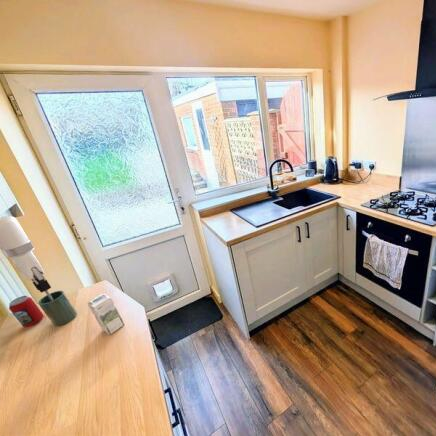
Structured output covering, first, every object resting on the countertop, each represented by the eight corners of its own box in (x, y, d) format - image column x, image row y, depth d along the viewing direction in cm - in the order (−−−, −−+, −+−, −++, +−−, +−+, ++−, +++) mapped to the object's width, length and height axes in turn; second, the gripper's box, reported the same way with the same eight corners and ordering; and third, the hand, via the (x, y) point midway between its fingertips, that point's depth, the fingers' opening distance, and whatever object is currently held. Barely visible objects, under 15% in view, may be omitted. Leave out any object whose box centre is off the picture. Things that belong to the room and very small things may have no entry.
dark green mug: (58, 329, 99) (42, 307, 94) (50, 322, 103) (35, 301, 98) (80, 315, 105) (66, 293, 100) (72, 309, 109) (59, 288, 104)
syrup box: (118, 319, 100) (102, 292, 94) (125, 324, 97) (110, 296, 91) (102, 330, 96) (86, 302, 90) (110, 336, 93) (93, 307, 87)
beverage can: (19, 327, 102) (2, 305, 97) (37, 314, 108) (22, 293, 103) (30, 329, 101) (13, 307, 96) (48, 316, 107) (33, 295, 101)
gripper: (-3, 250, 90) (25, 289, 98) (11, 259, 82) (39, 301, 90) (24, 240, 96) (48, 278, 104) (39, 248, 88) (64, 288, 96)
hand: (44, 288), depth 97 cm, fingers closed on bottle brush, 2 cm apart
